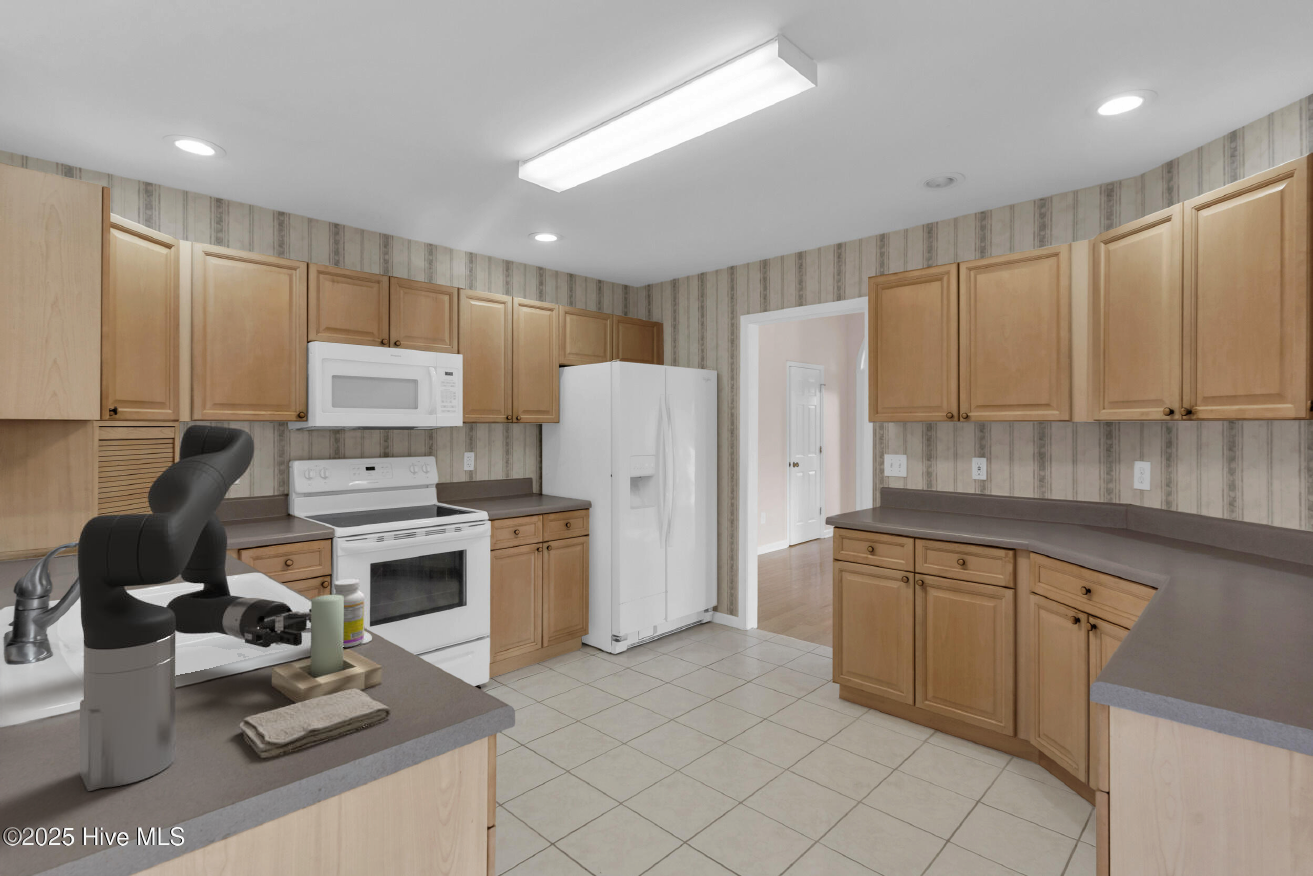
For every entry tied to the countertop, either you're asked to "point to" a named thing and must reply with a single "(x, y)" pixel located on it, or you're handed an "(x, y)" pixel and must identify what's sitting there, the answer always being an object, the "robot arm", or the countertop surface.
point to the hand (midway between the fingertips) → (322, 632)
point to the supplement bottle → (351, 611)
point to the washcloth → (311, 722)
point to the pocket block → (325, 677)
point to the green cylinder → (327, 635)
